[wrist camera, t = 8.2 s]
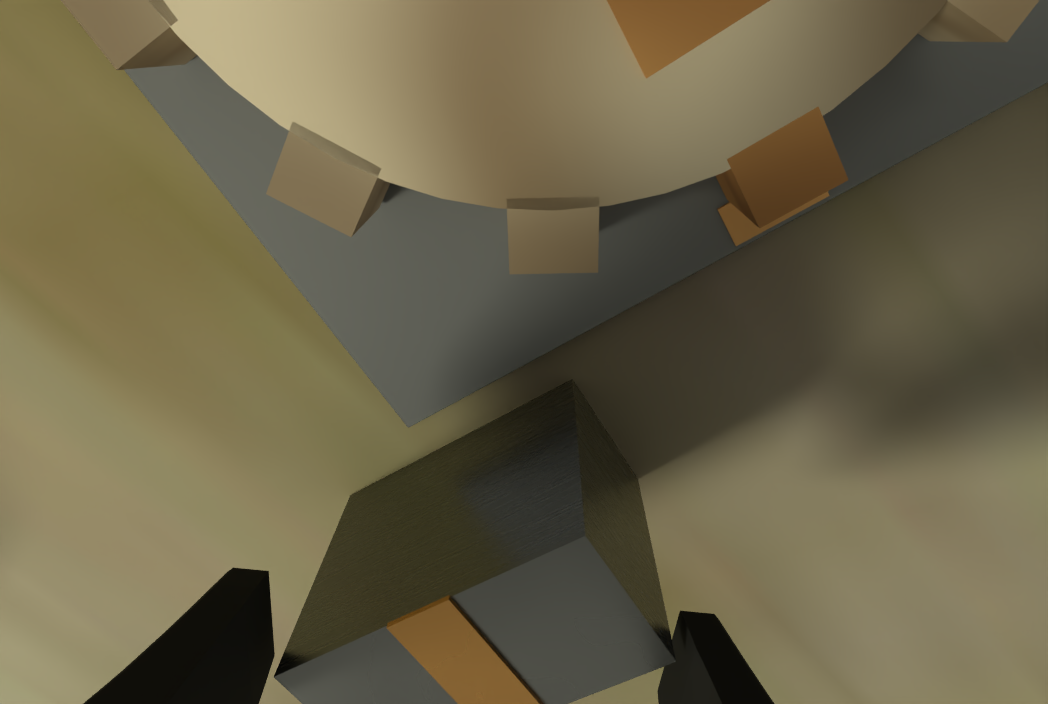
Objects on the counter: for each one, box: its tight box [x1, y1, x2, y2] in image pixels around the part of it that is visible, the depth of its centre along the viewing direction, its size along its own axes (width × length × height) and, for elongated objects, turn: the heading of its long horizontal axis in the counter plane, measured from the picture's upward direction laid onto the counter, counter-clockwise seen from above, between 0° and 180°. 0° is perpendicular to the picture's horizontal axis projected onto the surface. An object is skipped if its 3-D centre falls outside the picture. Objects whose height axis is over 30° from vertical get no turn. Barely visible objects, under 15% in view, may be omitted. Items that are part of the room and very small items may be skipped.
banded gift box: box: [274, 379, 676, 704], centre depth 13 cm, size 3×6×5 cm, turn 122°
